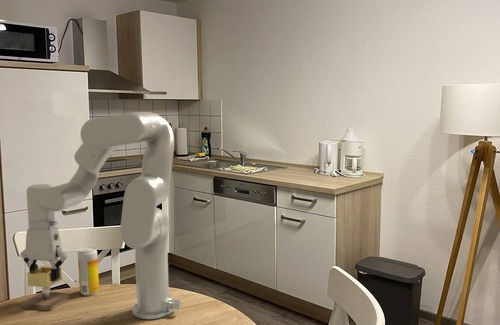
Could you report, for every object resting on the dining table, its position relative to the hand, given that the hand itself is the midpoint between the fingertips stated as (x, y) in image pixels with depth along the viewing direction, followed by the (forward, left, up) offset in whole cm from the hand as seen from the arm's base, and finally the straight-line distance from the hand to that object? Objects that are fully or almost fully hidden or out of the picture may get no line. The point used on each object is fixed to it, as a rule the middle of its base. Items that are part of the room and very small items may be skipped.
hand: (44, 278), depth 150 cm
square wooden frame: (0, 0, -1) cm, 1 cm away
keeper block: (0, 0, -8) cm, 8 cm away
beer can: (-9, -10, -8) cm, 16 cm away
